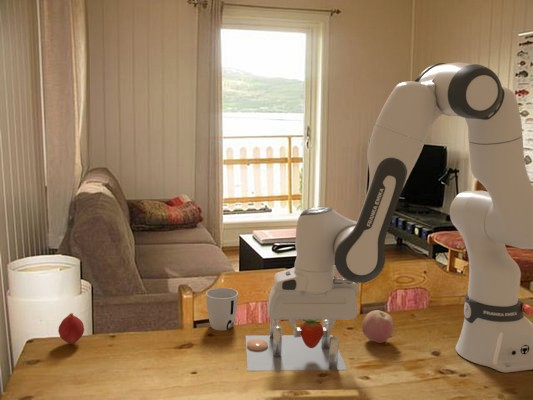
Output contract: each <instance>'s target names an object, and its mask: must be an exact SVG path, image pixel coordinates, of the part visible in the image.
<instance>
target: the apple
mask: <svg viewBox="0 0 533 400" xmlns="http://www.w3.org/2000/svg"><path fill="white" fill-rule="evenodd" d="M361 329H362V332H363V334H364V336H365V337H366V338H367V339H368V340H370V341H373V342H375V343H376V344H377V343H378V344H381V343H384V342H386V341H387V340H389V339H390V338H391V337H392V335H393V332H394V330H395V321H394V318H393V317H392V316H391V315H390V314H389V313H387V312H385V311H382V310H379V309H375V310H374V309H373V310H372V311H369V312H368V313H367V314H365V317H364V318H363V321H362V328H361Z"/></svg>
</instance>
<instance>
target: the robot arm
mask: <svg viewBox="0 0 533 400" xmlns="http://www.w3.org/2000/svg"><path fill="white" fill-rule="evenodd" d="M517 100H518V99H517V97H516V95H515V93H514V92H513V91H512V90H511V89H510V88H507V87H505V86H502V82H501V81H500V78H499V76H498V75H497V74H496V73H495V72H494V71H493V70H492V69H491V68H489V67H487V66H484V65H482V64H475V63H474V64H473V63H468V62H461V61H459V62H458V61H457V62H451V63H446V62H440V63H435V64H433V65H430V66H428V67H427V68H425V69H424V70H422V72H420V74H419V75H418V77H417V78H415V80H413V81H412V80H410V81H409V80H407V81H403V82H400V83H398V84H397V85H395V87H394V88H393V89H392V91H391V93H390V94H389V96H388V98H387V99H386V101H385V103H384V105H383V107H382V108H381V111H380V113H379V115H378V117H377V119H376V121H375V125H374V126H373V129H372V132H371V135H370V138H369V143H368V148H367V153H366V154H367V155H366V157H367V158H366V159H367V164H368V171H369V182H368V189H367V192H366V195H365V199H364V200H363V205H362V207H361V209H360V212H359V215H358V218H357V221H356V220H353V219H350V218H348V217H345V216H344V215H342V214H340V213H339V212H337V211H336V210H334V208H332V206H331V207H329V206H322V205H321V206H316V207H315V206H313V207H310V208H308V209H305V210H304V211H302V212H301V213H300V214H299V216H298V219H297V223H296V228H295V230H296V231H295V242H294V243H295V244H294V247H295V251H296V258H295V261H294V267H292V268H289V269H286V270H281V271H279V272H275V274H274V278H273V280H274V284H273V285H272V286H271V288H270V291H269V296H268V301H267V315H268V317H269V319H270V318H271V319H272V320H278V321H281V320H282V321H283V320H285V321H287V320H288V321H289V324H290V326H291V328H292V329H293V335H294V337H301V329H300V327H301V326H300V327H297V325H296V324H297V320H298V321H299V320H302V321H303V320H316V321H318V320H319V321H320V320H321V321H322V320H328V324H327V326H326V327H323V335H322V336H323V337H329V334H330V335H331V330H332V329H333V327H334V326H335V324H336V320H342V321H343V320H344V321H345V320H346V321H347V320H355V319H356V318H357V316H358V302H357V301H358V300H357V297H358V295H359V292H360V285H359V284H360V283H368V282H370V281H373V280H375V278H377V277H378V276H379V275H380V274H381V273H382V271H383V270H384V266H385V263H386V250H385V248H386V247H385V242H386V238H387V237H386V236H387V233H388V231H389V228H390V225H391V223H392V220H393V216H394V213H395V211H396V209H397V206H398V202H399V199H400V197H401V194H402V192H403V189H404V188H405V185H406V183H407V180H408V179H409V177H410V175H411V172H412V171H413V168H414V167H415V165H416V163H417V162H418V159H419V157H420V154H421V153H422V150H423V147H424V145H425V142H426V141H427V137H428V135H429V133H430V130H431V128H432V126H433V124H434V123H435V122H436V121H437V119H438V118H439V117H441V116H442V115H445V116H447V117H461V118H463V119H465V121H466V125H467V139H468V151H469V162H470V170H471V174H472V175H473V177H474V178H475V180H476V181H478V182H479V183H480V184H481V185H482V186H483V187H484V188H485V189H486V191H485V190H465V191H461V192H460V193H458V194H457V195H456V196H455V197H454V199H453V200H452V202H451V204H450V207H449V208H450V209H449V218H450V222H451V223H452V225H453V226H454V227H455V229H456V230H457V231H458V233H459V235H460V236H461V239H462V241H463V242H464V245H465V250H466V252H467V257H468V265H469V267H468V268H469V269H468V270H469V272H468V273H469V276H468V288H467V289H468V290H467V292H466V294H465V300H464V307H463V317H464V318H463V323H462V329H461V331H460V335H459V338H458V340H457V342H456V345H455V351H456V353H457V354H458V355H459V356H461V358H463V359H465V360H466V361H467V360H468V361H469V362H472V363H475V364H477V365H480V366H484V367H488V368H491V369H494V370H495V371H498V372H501V373H512V372H513V373H514V372H522V371H529V370H533V322H532V321H531V320H529V318H527V317H526V316H525V314H526V315H527V316H531V315H533V307H532V306H530V304H525V303H524V302H523V301H521V300H520V299H519V294H520V286H521V277H522V272H521V269H520V266H519V265H518V263H517V262H516V261H515V260H514V259H513V257H511V255H510V254H509V252H508V250H507V247H506V245H507V246H510V247H513V248H516V249H517V248H518V249H524V250H533V184H532V181H531V179H530V177H529V174H528V171H527V167H526V162H525V160H526V159H525V150H524V140H523V138H524V136H523V127H522V126H523V125H522V119H521V113H520V108H519V107H520V106H519V104H518V101H517ZM335 269H336V270H337V272H338V273H339V275H340V276H341V277H342V278H339V277H338V278H334V277H335V273H334V272H335ZM524 313H525V314H524Z"/></svg>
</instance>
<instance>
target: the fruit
mask: <svg viewBox="0 0 533 400" xmlns="http://www.w3.org/2000/svg"><path fill="white" fill-rule="evenodd" d="M300 329H301V337H302V339H303V341H304V343H305V344H306V346H307V347H309V348H314V347H316V346H317V344H318V343H319V342H320V340H321V338H322V335H323V327H322V323H321V321H318V320H302V323H301V325H300Z"/></svg>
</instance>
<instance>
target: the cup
mask: <svg viewBox="0 0 533 400" xmlns="http://www.w3.org/2000/svg"><path fill="white" fill-rule="evenodd" d="M205 295H206V309H207V315H208V320H209V322H208V323H210V327H211V329H213V330H216V331H221V332H222V331H228V330H231V329H232V328H233V326H234V325H235V324H234V323H235V321H236V314H237V309H238V296H239V292H238V291H237V290H236V289H234V288H230V287H216V288H211V289H208V290H207V291H206V292H205Z"/></svg>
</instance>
